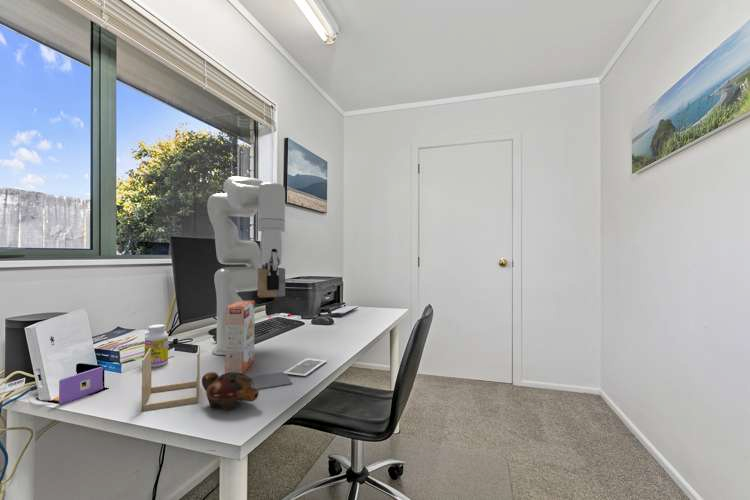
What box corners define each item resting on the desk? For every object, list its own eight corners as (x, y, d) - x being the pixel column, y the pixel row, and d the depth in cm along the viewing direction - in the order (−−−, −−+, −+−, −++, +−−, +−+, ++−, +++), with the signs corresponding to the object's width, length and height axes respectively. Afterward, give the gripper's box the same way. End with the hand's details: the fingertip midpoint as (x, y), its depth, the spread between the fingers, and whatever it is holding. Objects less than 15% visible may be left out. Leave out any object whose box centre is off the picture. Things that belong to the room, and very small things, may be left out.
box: (257, 295, 100) (257, 268, 100) (281, 294, 103) (281, 267, 103) (259, 297, 96) (259, 269, 96) (285, 296, 99) (285, 268, 99)
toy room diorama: (111, 390, 94) (111, 365, 94) (60, 409, 82) (60, 381, 82) (80, 385, 97) (80, 360, 97) (26, 403, 85) (27, 375, 85)
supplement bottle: (139, 368, 110) (139, 328, 110) (152, 361, 117) (152, 323, 117) (160, 367, 110) (161, 328, 111) (172, 361, 117) (172, 323, 117)
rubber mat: (250, 377, 102) (250, 376, 102) (285, 372, 106) (285, 371, 106) (254, 390, 93) (254, 388, 93) (291, 384, 97) (291, 382, 97)
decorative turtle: (214, 395, 90) (214, 365, 90) (268, 400, 87) (268, 368, 87) (187, 412, 80) (187, 378, 80) (246, 418, 77) (247, 383, 77)
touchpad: (327, 363, 116) (327, 357, 116) (305, 379, 102) (305, 372, 102) (306, 361, 119) (306, 355, 119) (282, 376, 104) (282, 369, 104)
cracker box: (244, 375, 104) (245, 306, 104) (224, 375, 104) (224, 306, 104) (255, 360, 118) (255, 299, 118) (237, 361, 118) (237, 300, 118)
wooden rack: (149, 393, 91) (149, 347, 91) (199, 385, 96) (199, 342, 96) (141, 412, 80) (141, 360, 80) (198, 402, 85) (198, 354, 85)
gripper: (254, 227, 106) (254, 286, 106) (262, 223, 90) (261, 292, 90) (279, 228, 109) (279, 285, 109) (290, 224, 94) (290, 291, 94)
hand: (271, 288), depth 100 cm, fingers closed on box, 5 cm apart
